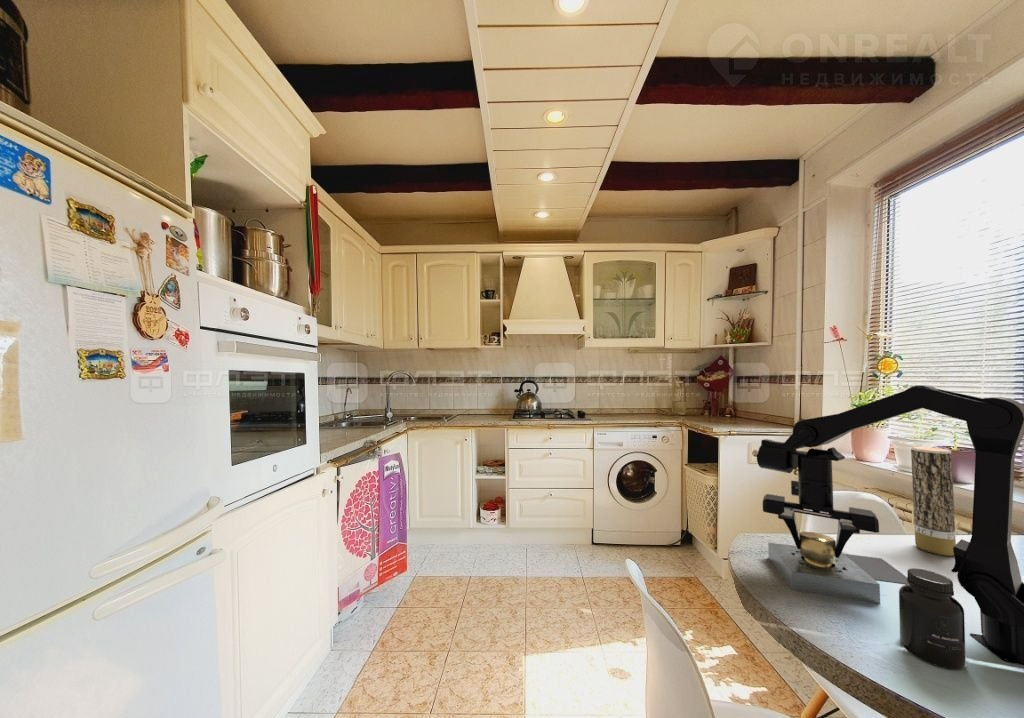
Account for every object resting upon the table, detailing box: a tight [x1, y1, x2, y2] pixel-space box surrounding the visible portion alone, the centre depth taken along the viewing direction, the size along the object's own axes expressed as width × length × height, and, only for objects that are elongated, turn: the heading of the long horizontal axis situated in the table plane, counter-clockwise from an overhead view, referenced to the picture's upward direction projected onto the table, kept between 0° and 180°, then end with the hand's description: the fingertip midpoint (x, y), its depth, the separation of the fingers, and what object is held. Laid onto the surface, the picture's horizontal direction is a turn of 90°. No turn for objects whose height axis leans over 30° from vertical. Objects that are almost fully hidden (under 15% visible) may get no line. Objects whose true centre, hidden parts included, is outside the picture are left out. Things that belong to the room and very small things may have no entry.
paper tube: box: [910, 446, 957, 557], centre depth 94 cm, size 7×7×25 cm
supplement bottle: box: [898, 567, 966, 671], centre depth 59 cm, size 7×7×12 cm
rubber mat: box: [844, 553, 909, 585], centre depth 84 cm, size 12×10×1 cm
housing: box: [767, 542, 881, 605], centre depth 80 cm, size 14×14×4 cm
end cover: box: [798, 531, 836, 568], centre depth 80 cm, size 6×6×8 cm
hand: (817, 552), depth 80 cm, fingers closed on end cover, 6 cm apart
